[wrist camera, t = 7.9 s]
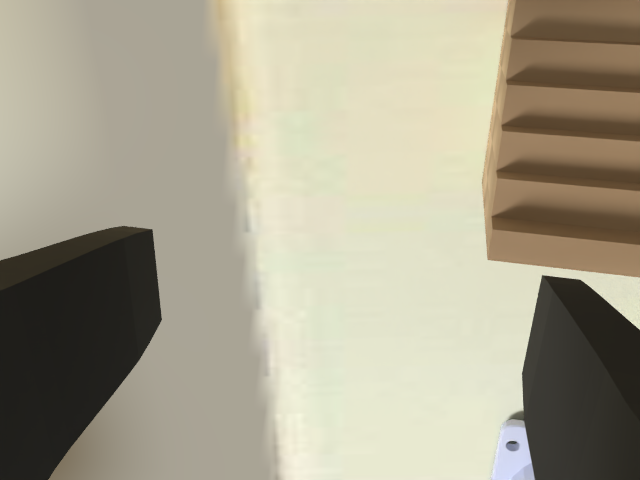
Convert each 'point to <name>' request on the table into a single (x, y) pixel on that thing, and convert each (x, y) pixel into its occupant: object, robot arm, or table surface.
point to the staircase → (566, 138)
